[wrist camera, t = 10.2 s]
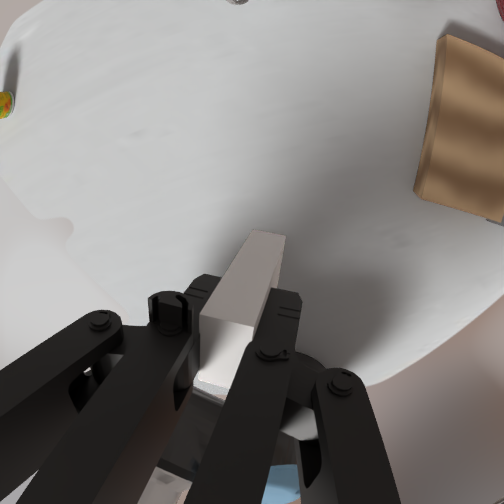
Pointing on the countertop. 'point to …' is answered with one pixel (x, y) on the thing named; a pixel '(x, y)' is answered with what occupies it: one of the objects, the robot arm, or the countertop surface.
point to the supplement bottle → (6, 104)
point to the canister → (500, 7)
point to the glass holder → (237, 2)
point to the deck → (465, 131)
